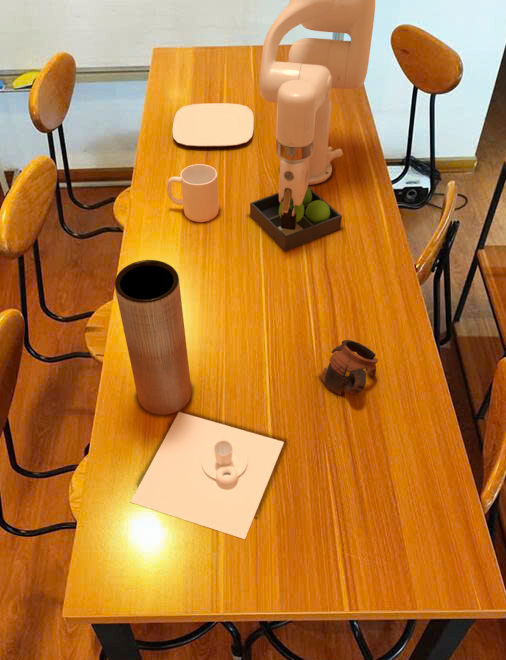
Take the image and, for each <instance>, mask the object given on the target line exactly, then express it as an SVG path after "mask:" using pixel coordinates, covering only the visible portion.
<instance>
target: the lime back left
mask: <svg viewBox="0 0 506 660" xmlns="http://www.w3.org/2000/svg"><path fill="white" fill-rule="evenodd" d="M308 187H309V186H308ZM308 187H307V190H306V193H305V196H304V199H303V202H302V204H303V206H304V205H306V204H309V203H311V200H312V193H311V191H310V189H309V188H308Z"/></svg>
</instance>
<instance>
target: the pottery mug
mask: <svg viewBox="0 0 506 660" xmlns="http://www.w3.org/2000/svg"><path fill="white" fill-rule="evenodd" d="M330 353H331V354H332V355H331V357H330V358H329V364H328V367H324V368H323V370H322V375H321V381H322V382H323V383H324V385H325V386H326V387H327V388H328V389H329V390H330V391H332V392H333V393H336V394H337V395H339V396H340V395H342V393H343V392H344V391H345V392H346V393H347V394H350V395H359V394H361V393H362V392H363V390H364V389H365V387H366V384H367V372H369V375H370V376H371V377H372V378H374V377H375V375H376V372H377V365H376V364H378V362H379V359H378V358H377V357H376V353H375V352H374V351H372V350H371V349H370V348H369V347H367V346H366V345H363V344H361V343H360V342H357V341H355V340H351V339H346V340H345V339H344V340H342V341H341V344H340V345H338V346H336V347H335V348H333V349H332V350H331V352H330ZM364 369H365V370H364ZM347 372H348V375H347Z"/></svg>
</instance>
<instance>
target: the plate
mask: <svg viewBox="0 0 506 660" xmlns="http://www.w3.org/2000/svg"><path fill="white" fill-rule="evenodd" d="M254 118H255V117H254V113H253V110H252V109H251V108H250V107H249V106H247V105H243V104H240V103H230V102H229V103H228V102H227V103H226V102H225V103H220V102H218V103H217V102H215V103H211V102H209V103H191V104H188V105H184V106H182V107H180V108H179V109H178V110H177V111H176V113H175V114H174V118H173V123H172V138H173V140H174V141H175V142H176V143H177V144H180V145H183V146H187V147H200V148H209V147H210V148H213V147H216V148H217V147H219V148H220V147H236V146H240V145H242V144H246V143H248V142H249V141H250V140H251V139H252V138H253V135H254V131H255V130H254V129H255V122H254V121H255V119H254Z"/></svg>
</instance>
